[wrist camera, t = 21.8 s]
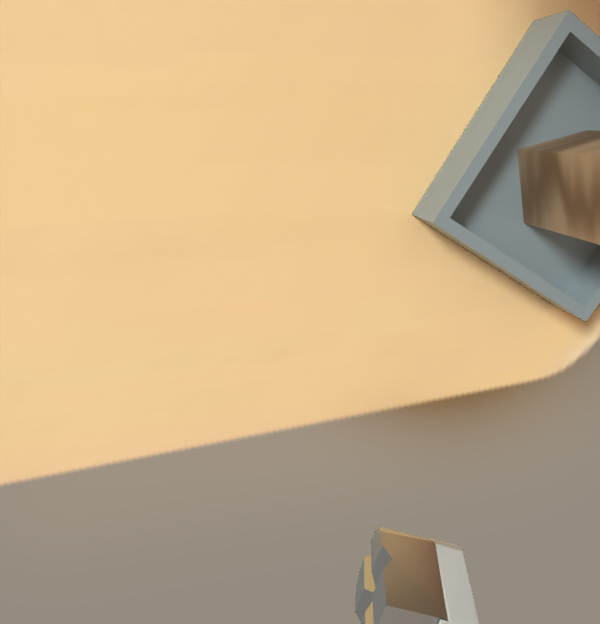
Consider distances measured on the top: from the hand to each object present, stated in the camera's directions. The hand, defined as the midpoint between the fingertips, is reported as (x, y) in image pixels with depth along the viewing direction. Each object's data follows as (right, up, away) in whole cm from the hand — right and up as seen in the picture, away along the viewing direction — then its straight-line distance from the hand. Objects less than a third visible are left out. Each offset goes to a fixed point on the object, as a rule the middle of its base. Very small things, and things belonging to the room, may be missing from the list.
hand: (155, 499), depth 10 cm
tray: (+20, +13, +28) cm, 37 cm away
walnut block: (+20, +13, +27) cm, 36 cm away
